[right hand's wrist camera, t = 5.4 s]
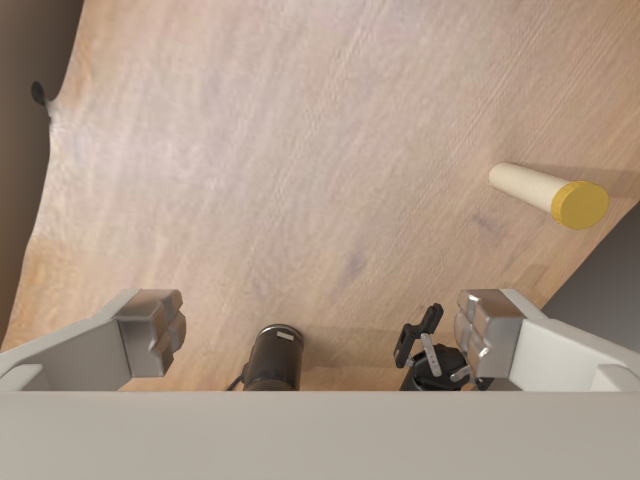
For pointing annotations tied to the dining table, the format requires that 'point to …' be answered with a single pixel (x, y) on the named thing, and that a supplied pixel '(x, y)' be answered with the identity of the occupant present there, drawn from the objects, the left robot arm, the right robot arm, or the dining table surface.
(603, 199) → the lid
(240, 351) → the dining table surface
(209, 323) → the dining table surface
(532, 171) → the bottle
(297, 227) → the dining table surface
